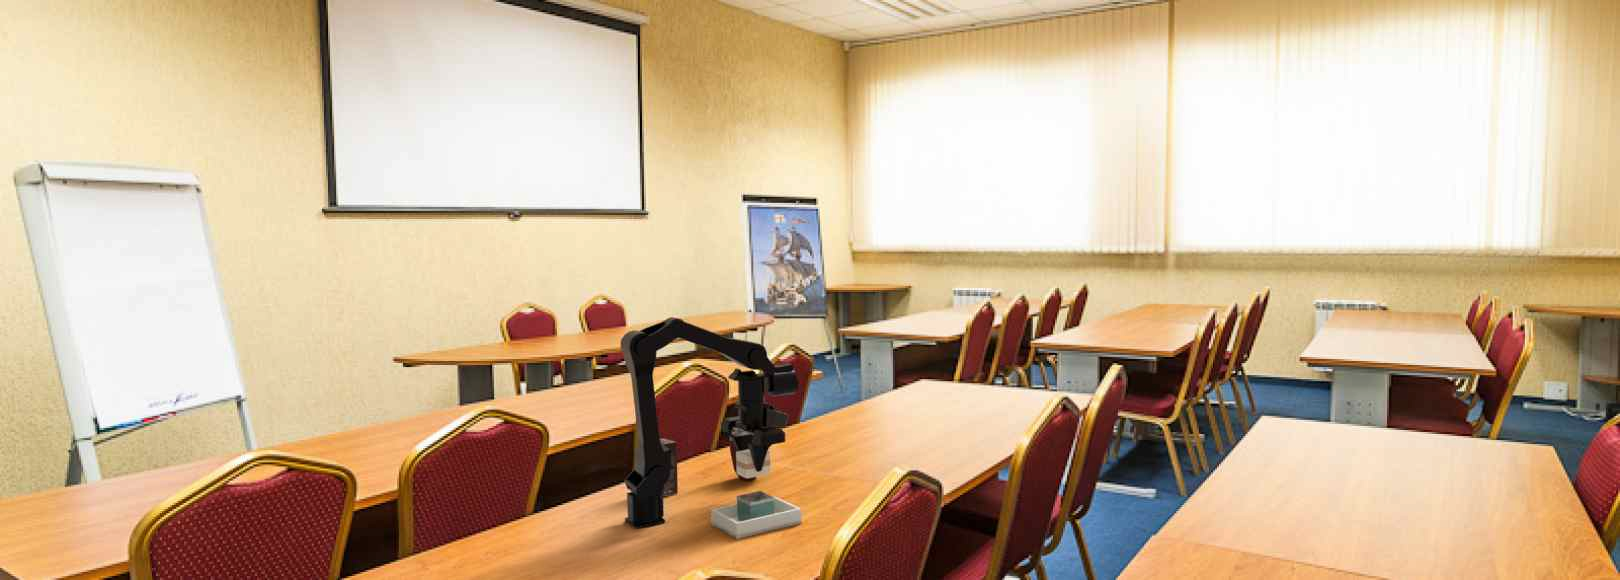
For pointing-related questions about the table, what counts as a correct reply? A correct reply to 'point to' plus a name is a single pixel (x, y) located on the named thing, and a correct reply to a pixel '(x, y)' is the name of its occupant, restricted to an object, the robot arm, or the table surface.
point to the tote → (756, 519)
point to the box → (672, 482)
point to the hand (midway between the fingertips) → (753, 468)
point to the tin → (754, 505)
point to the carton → (750, 464)
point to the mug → (733, 456)
